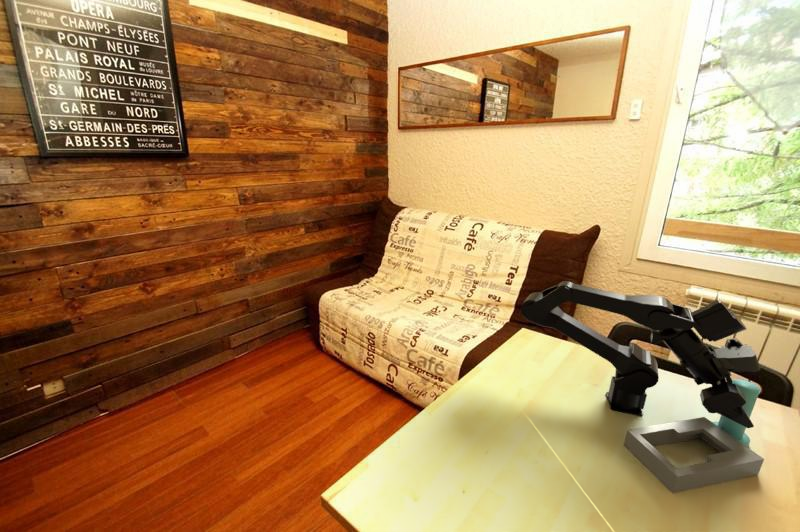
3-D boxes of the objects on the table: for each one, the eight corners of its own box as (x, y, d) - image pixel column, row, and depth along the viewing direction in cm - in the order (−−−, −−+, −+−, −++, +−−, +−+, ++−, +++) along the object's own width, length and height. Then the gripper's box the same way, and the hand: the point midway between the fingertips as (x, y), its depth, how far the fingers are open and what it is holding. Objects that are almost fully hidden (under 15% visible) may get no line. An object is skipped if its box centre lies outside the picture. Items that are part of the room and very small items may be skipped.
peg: (716, 444, 72) (734, 391, 68) (702, 423, 78) (718, 373, 74) (755, 452, 71) (776, 398, 66) (738, 430, 76) (756, 379, 72)
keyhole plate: (672, 493, 62) (677, 476, 61) (623, 444, 72) (627, 429, 71) (757, 474, 66) (764, 459, 64) (699, 431, 76) (704, 416, 75)
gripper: (745, 354, 62) (813, 431, 59) (724, 315, 77) (779, 375, 74) (678, 378, 68) (738, 447, 66) (671, 337, 83) (720, 393, 81)
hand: (745, 413), depth 72 cm, fingers open, 9 cm apart
